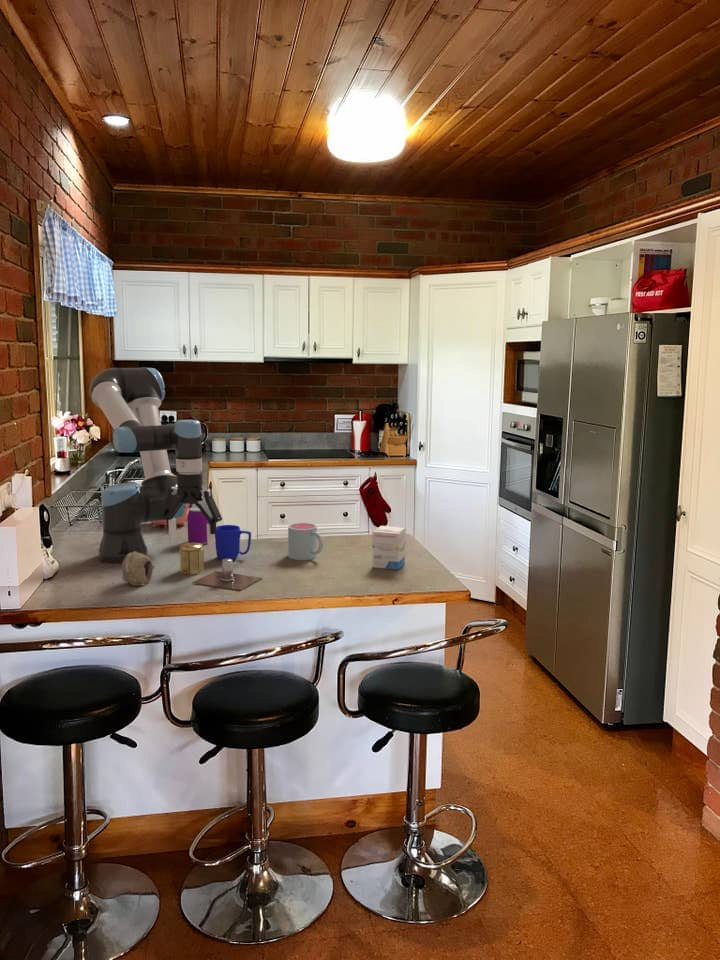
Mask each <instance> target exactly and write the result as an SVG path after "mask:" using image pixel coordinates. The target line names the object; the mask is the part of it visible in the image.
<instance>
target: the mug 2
mask: <svg viewBox="0 0 720 960" xmlns="http://www.w3.org/2000/svg"><path fill="white" fill-rule="evenodd" d="M287 527H288V529H287V534H288V535H287V536H288V537H287V539H288V541H287V544H288V547H287V553H288V554H287V557H288V558H289V559H291V560H294V561H295V560H296V561H310V560H313V559H315V558H317V557H318V556H317V555H319V554H320V553H321V552H322V551H323V547H324V541H323V538H322V537H321V535H320V534H319V533H318V529H317V527H318V526H317V525H316V523H315V524H314V523H310V522H297V523H291V524H289V525H288V526H287ZM317 540H318V541H317ZM318 542H319V545H318V544H317V543H318ZM317 546H318V548H317Z"/></svg>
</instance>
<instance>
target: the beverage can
mask: <svg viewBox="0 0 720 960" xmlns="http://www.w3.org/2000/svg"><path fill="white" fill-rule="evenodd" d="M186 522H187V542H188V543H201V544H203V545H206V544H205V543H207V524H208V523H209V522H208V520H207V519H206V517H205V516H204V515H203V513H202V512H201V510H200V509H199V508H198V506H194V507H189V512H188V515H187V521H186Z"/></svg>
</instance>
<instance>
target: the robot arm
mask: <svg viewBox="0 0 720 960" xmlns="http://www.w3.org/2000/svg"><path fill="white" fill-rule="evenodd" d="M88 393H89V397H90V399H91V401H92V403H93V404H94V406H96V407H97V408H99V409H101V411H102V412H103V414H104V416H105V417H106V418H107V421H108V422H109V424H110V425H111V428H113V433H112V434H113V435H112V442H113V445H114V449H115V450H116V451H117V452H118V453H139V454H140V459H141V464H142V468H143V475H144V478H143V480H142V481H141V484H139V483H138V482H133V481H132V482H130V481H129V482H120V483H117V484H116V483H115V484H113V485H110V486H107V487H105V488H104V489H103V490H102V492H101V503H100V506H101V515H102V516H101V518H102V538H101V541H100V544H99V545H100V546H99V548H98V554H97V555H98V560H99V561H101V562H104V563H114V564H115V563H117V564H118V563H121V564H122V563H123V560H124V558H125V557H126V556H127V555H128V554H129V553H133V552H134V551H135V552H138V553H141V554H144V555H146V556H147V557H148V552H149V551H148V546H147V545H146V542H145V539H144V535H143V534H142V523H151V522H152V521H161V520H167V529H166V530H168V540H169V542H174V541H176V540H177V538H178V537H177V524H176V518H180V517H181V516H182V515H183V514H184V512H185V509H186V504H187V503H189V504H190V505H195V507H198V508H199V509H200V510H201V512H202V513H203V515H204V516H205V517H206V519H207V520H208V522H209V523H208V524H207V544H206V546H213V545H216V544H215V533H216V527H217V523H218V522H221V521H223V517H222V515H221V512H220V510H219V508H218V506H217V504H216V501H215V500H214V497H213V490H212V488H210V489H206V490H204V489H203V482H204V481H203V473H202V471H203V455H202V454H203V453H202V451H203V450H202V448H203V447H202V427H201V422H200V421H199V420H197V419H179V420H176V421H175V422H174V423H167V424H162V422H161V418H160V417H161V416H160V411H159V408H160V407H161V405H162V401H163V400H164V399H165V395H166V390H165V382H164V379H163V376H162V375H161V373H160V372H159V370H157V369H156V368H153V367H144V366H141V367H109V368H106V369H103V370H101V371H100V372H98V373H97V374H96V375H95V376H94V377H93V378H92V380H91V382H90V384H89V392H88ZM169 450H175V470H176V472H177V474H176V475H175V474H174V473H172V470H171V467H170V460H169V455H168V451H169ZM140 485H141V486H140Z"/></svg>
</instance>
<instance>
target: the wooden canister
mask: <svg viewBox="0 0 720 960" xmlns="http://www.w3.org/2000/svg"><path fill="white" fill-rule="evenodd" d="M178 549H179V571H181V572H180V573H181V574H182V573H184V574H183V575H188V574H189V575H190V574H192V575H199V573H200V572H202V573H204V572H205V559H204V558H205V557H204V555H205V554H204V553H205V552H204V550H205V549H204V544H201V543H190V542H185V543H182V544H180V545H179V548H178ZM203 571H204V572H203ZM200 574H201V573H200Z"/></svg>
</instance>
